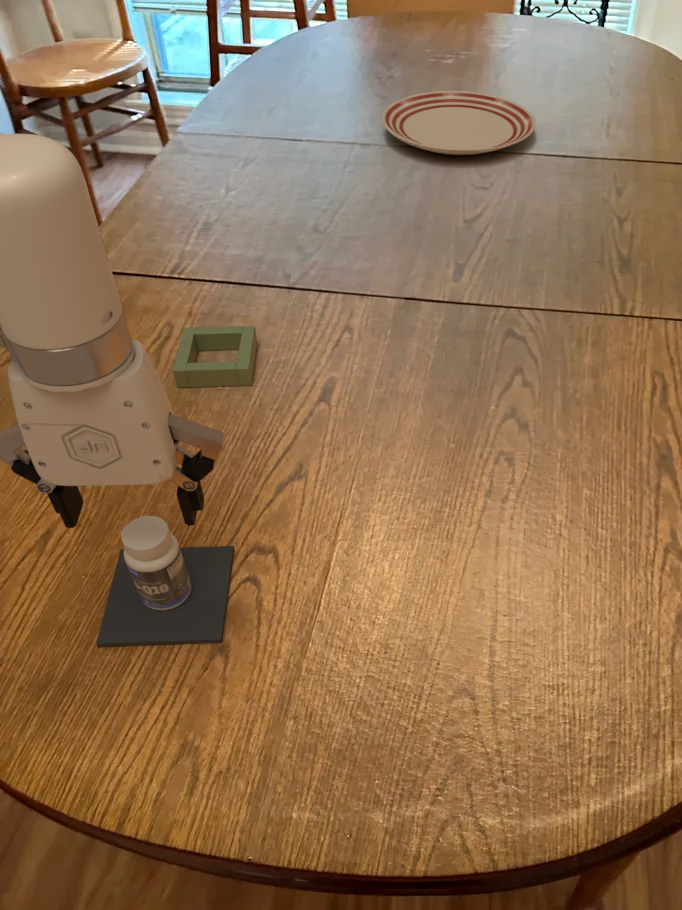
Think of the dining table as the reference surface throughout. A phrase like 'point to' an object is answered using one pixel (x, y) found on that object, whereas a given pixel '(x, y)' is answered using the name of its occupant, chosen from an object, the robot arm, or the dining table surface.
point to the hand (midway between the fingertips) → (134, 514)
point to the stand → (215, 372)
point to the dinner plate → (458, 122)
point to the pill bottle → (155, 563)
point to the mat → (182, 624)
